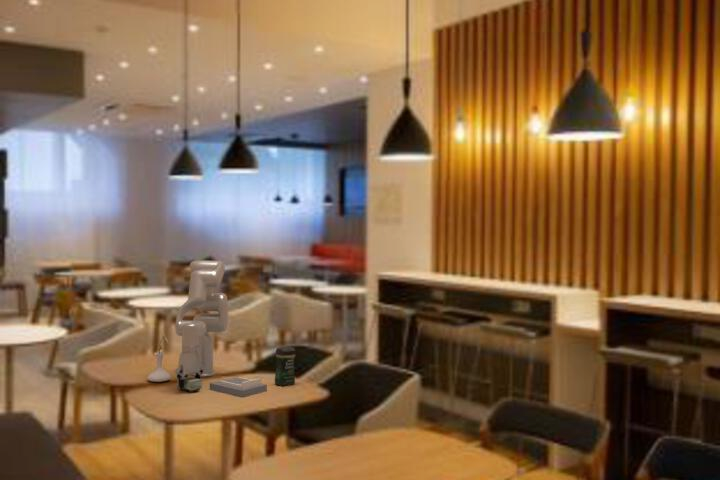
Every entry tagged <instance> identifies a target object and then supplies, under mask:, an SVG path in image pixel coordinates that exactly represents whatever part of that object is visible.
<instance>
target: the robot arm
mask: <svg viewBox="0 0 720 480" xmlns="http://www.w3.org/2000/svg"><path fill="white" fill-rule="evenodd" d="M225 268H226V267H225V264H224V262H223V261H221V260H202V259H200V260H193V261H191V262H190V264H189V270H190V272H191V274H190V279H189V287H188V288H189V289H188V296H187V299H186V301H185V302H184V303H183V304H182V305H181V306H180V307H179V309H178V311H177V314H176V319H175V326H174V327H175V329H174V331H175V334H176V335H177V336H179V337H181V352H180V354H179V357H178V364H177V368H176V369H175V370H174V371H173V373H174V375H175V377H176V378H177V383H178V387H177V388H179V387H180V388H183V389H184V379H183V378H184V376H185V375H188V376H189V375H191V376H193V377H194V378H196V379H201V377H212V376H215V375H216V373H217V372H216V370H214V338H213V337H212V335H211V334H210V333H225V332H226V331H227V329H228V327H229V326H228V324H229V320H228V319H229V318H228V317H229V316H228V312H229V303H228V302H229V301H228V296H227V294H226V293H223V292H215V291H214V288H218V287H219V286H220V284H221V282H222V280H223V277H224V274H225ZM194 308H197V309H198V310H199V311H201V312H203V313H197V314H196V315H195V316H194V317H193V320H183V319H184V316H185V314H186V313H188V311H191V310H192V309H194ZM205 312H218V313H205ZM178 379H179V381H178Z"/></svg>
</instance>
